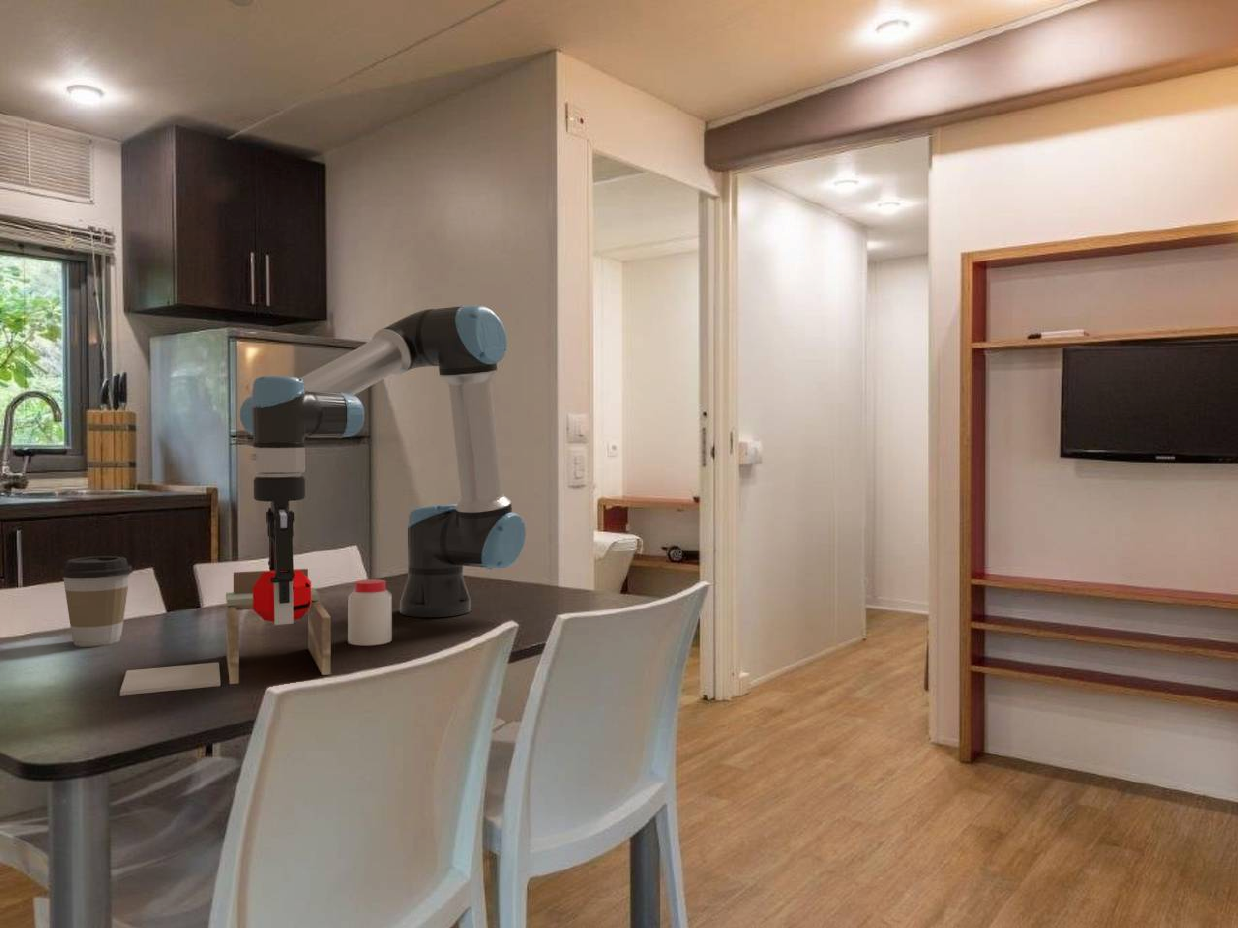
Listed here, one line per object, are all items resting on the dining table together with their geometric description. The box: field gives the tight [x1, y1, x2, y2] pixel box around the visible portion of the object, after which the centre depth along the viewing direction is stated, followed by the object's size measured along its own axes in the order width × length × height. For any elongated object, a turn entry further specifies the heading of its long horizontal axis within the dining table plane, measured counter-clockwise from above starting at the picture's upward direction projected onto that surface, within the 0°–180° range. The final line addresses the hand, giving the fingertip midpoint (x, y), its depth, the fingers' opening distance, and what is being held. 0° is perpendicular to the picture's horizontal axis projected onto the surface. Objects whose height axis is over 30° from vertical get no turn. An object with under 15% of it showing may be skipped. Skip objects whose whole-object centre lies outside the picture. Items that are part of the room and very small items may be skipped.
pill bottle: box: [347, 578, 393, 647], centre depth 161 cm, size 8×8×11 cm
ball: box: [252, 570, 312, 623], centre depth 138 cm, size 8×8×8 cm
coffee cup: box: [59, 555, 134, 648], centre depth 158 cm, size 11×11×15 cm
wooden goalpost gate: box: [225, 600, 332, 685], centre depth 143 cm, size 14×20×9 cm
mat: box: [119, 661, 221, 697], centre depth 133 cm, size 13×13×1 cm
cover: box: [225, 568, 320, 606], centre depth 151 cm, size 14×8×4 cm, turn 116°
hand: (281, 617), depth 138 cm, fingers closed on ball, 9 cm apart
